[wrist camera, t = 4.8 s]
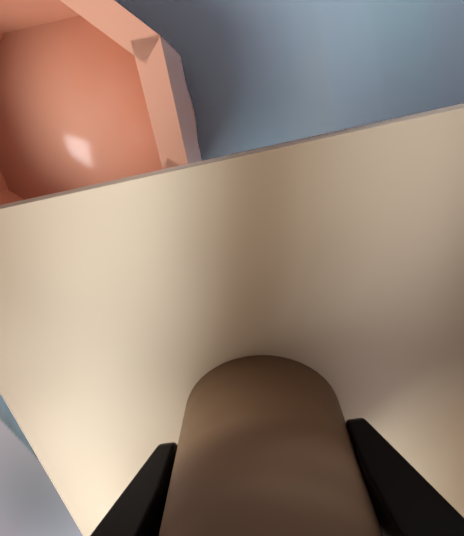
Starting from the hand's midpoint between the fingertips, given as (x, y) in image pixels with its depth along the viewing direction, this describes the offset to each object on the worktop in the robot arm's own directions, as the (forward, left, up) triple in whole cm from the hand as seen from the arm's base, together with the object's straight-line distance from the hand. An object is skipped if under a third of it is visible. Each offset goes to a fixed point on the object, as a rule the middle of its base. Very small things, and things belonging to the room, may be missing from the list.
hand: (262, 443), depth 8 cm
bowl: (+7, -8, -12) cm, 16 cm away
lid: (0, 0, -2) cm, 2 cm away
